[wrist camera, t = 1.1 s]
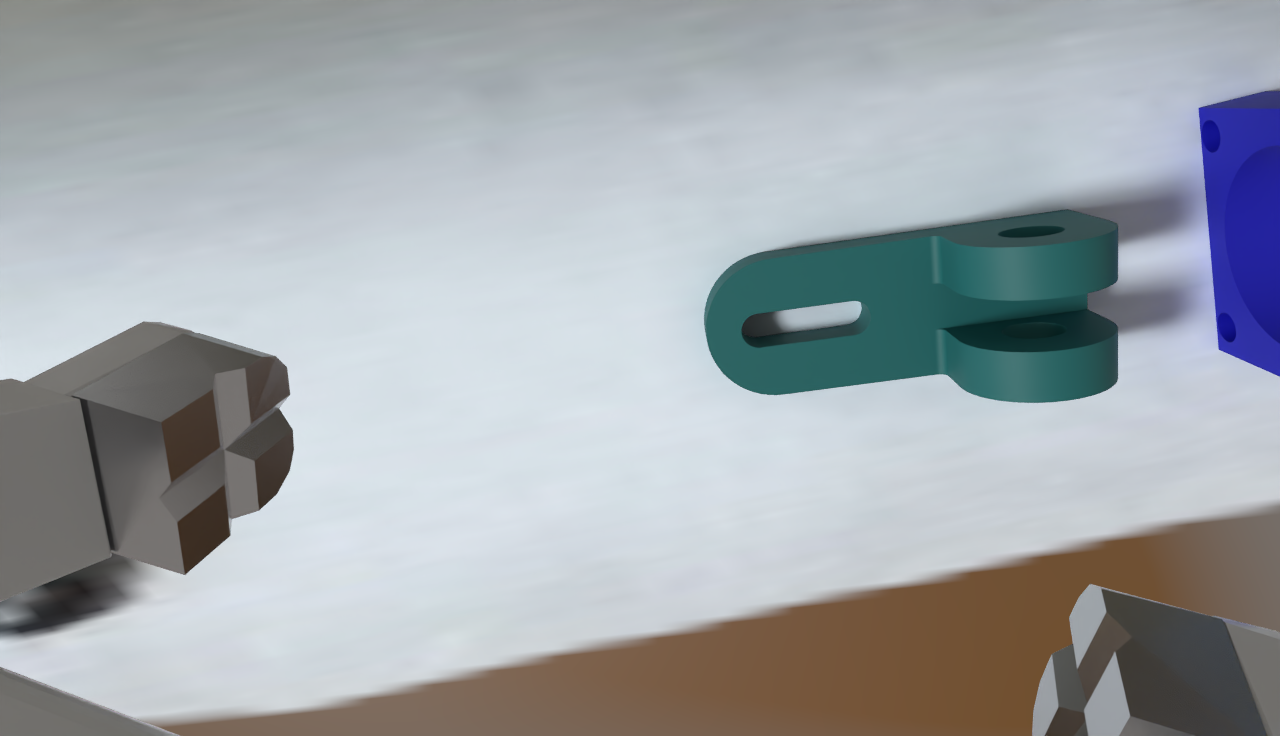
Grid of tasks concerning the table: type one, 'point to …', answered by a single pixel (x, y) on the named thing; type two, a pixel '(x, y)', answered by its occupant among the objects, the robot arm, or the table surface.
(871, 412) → the table surface
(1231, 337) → the cable clip
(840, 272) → the bracket
